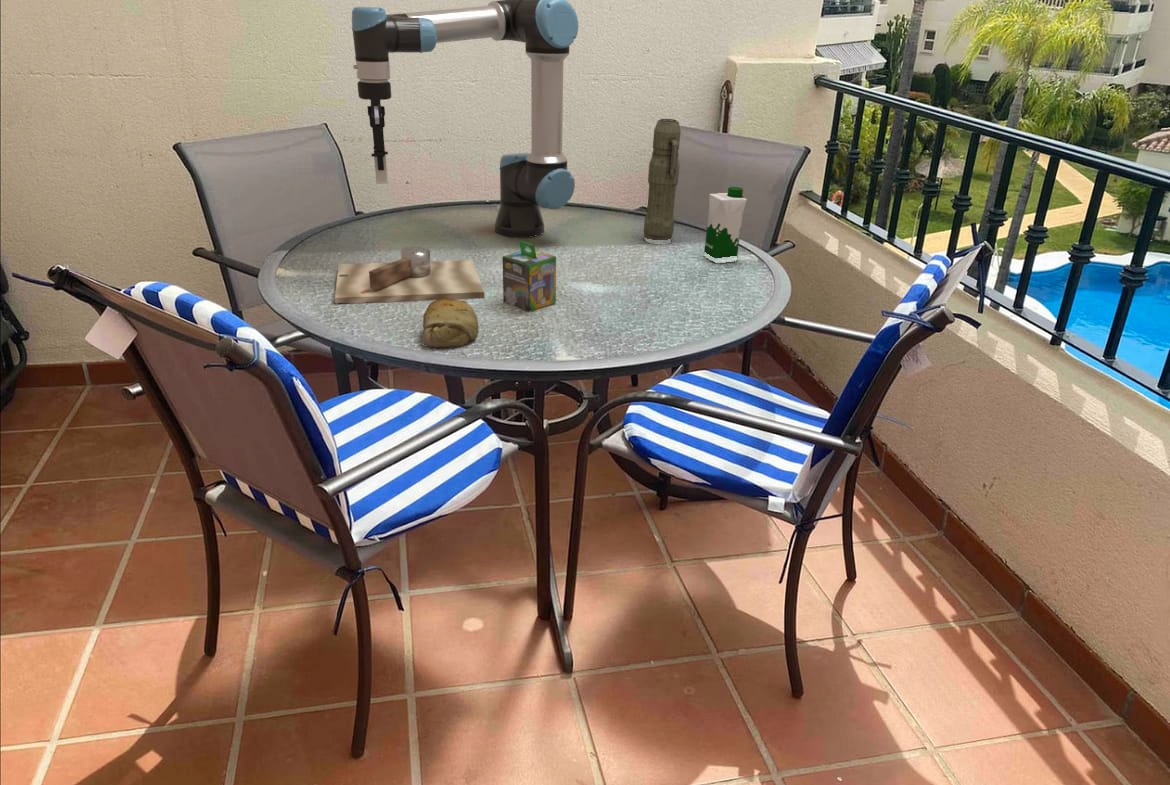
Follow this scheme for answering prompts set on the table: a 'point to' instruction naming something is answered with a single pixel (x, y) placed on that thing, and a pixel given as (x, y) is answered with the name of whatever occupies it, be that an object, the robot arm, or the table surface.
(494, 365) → the table surface
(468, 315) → the pastry
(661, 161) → the thermos
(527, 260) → the chalk box
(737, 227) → the milk carton
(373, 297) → the dial board
